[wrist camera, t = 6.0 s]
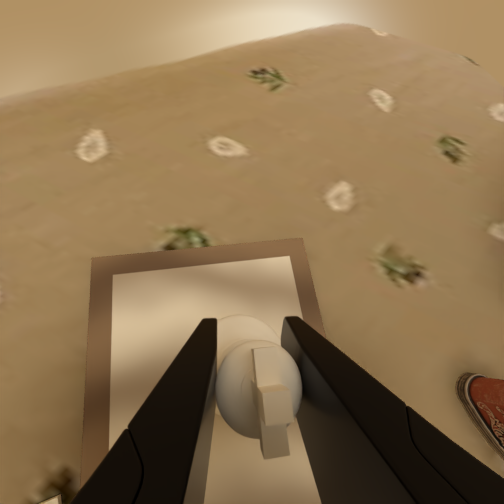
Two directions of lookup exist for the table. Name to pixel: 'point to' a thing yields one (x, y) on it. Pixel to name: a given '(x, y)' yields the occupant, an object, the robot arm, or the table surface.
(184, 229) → the table surface
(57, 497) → the plate
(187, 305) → the clipboard
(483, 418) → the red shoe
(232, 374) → the chess piece
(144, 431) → the robot arm
